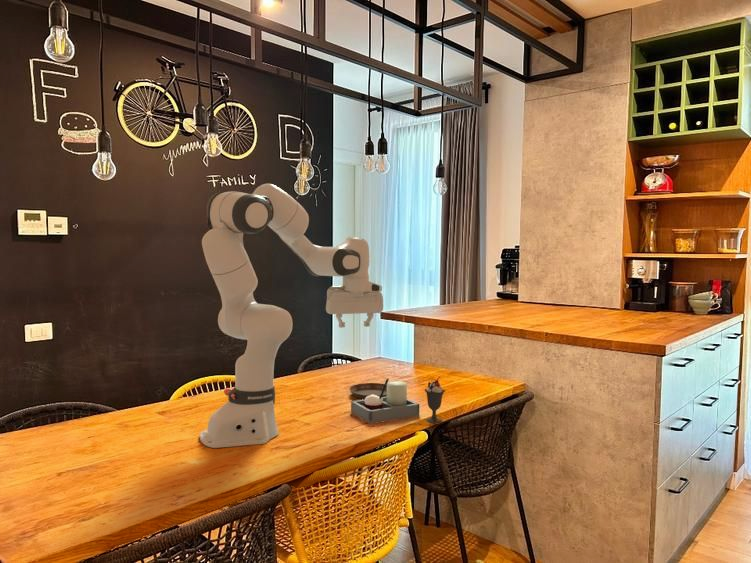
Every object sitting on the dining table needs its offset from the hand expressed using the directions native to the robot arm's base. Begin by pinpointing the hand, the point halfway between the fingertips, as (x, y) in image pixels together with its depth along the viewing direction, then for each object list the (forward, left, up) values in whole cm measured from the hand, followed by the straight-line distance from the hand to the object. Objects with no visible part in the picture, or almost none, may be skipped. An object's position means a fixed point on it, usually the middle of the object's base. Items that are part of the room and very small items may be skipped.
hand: (354, 326), depth 189 cm
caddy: (+8, -7, -29) cm, 31 cm away
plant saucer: (+16, +16, -30) cm, 37 cm away
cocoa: (+4, -8, -28) cm, 30 cm away
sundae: (+19, -20, -29) cm, 41 cm away
